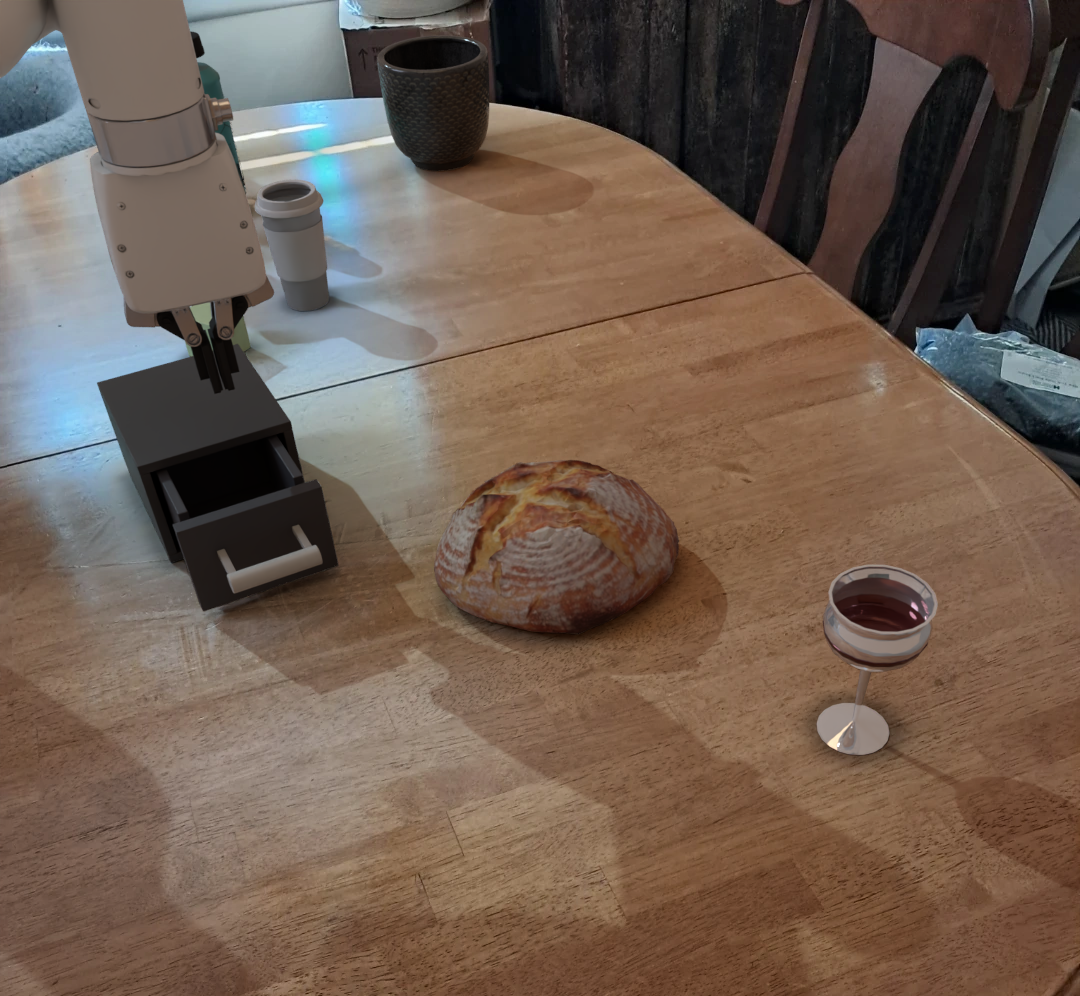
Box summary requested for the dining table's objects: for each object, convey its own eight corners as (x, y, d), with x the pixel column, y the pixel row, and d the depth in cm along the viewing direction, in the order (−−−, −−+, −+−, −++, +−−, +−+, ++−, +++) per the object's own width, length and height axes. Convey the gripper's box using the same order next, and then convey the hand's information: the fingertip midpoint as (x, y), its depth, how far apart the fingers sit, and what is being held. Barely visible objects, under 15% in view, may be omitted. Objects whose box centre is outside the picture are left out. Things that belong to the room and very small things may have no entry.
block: (188, 356, 120) (176, 314, 117) (219, 336, 123) (208, 295, 120) (220, 367, 118) (209, 325, 115) (251, 347, 121) (241, 305, 118)
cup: (277, 319, 125) (252, 208, 116) (274, 291, 129) (250, 182, 121) (343, 310, 126) (323, 199, 117) (337, 283, 130) (318, 174, 121)
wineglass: (903, 700, 82) (938, 570, 73) (901, 771, 78) (939, 641, 69) (807, 688, 83) (830, 558, 75) (800, 757, 79) (824, 627, 70)
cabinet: (312, 517, 100) (290, 421, 93) (171, 563, 97) (136, 467, 90) (261, 436, 109) (237, 343, 102) (130, 476, 106) (96, 382, 99)
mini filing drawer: (359, 598, 91) (343, 519, 85) (220, 648, 88) (193, 568, 82) (286, 482, 102) (267, 404, 97) (160, 521, 99) (133, 444, 93)
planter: (516, 156, 153) (510, 48, 144) (440, 190, 147) (428, 79, 137) (444, 131, 160) (435, 27, 151) (368, 163, 153) (353, 56, 144)
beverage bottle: (226, 227, 142) (182, 47, 127) (187, 216, 144) (140, 39, 130) (262, 207, 145) (223, 29, 131) (223, 197, 148) (182, 22, 133)
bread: (411, 563, 97) (392, 458, 90) (619, 496, 102) (616, 392, 95) (486, 675, 86) (470, 566, 79) (715, 594, 91) (719, 485, 84)
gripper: (255, 93, 79) (306, 340, 92) (31, 131, 76) (117, 381, 89) (278, 130, 74) (328, 385, 88) (39, 172, 71) (129, 430, 84)
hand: (221, 382), depth 88 cm, fingers closed
